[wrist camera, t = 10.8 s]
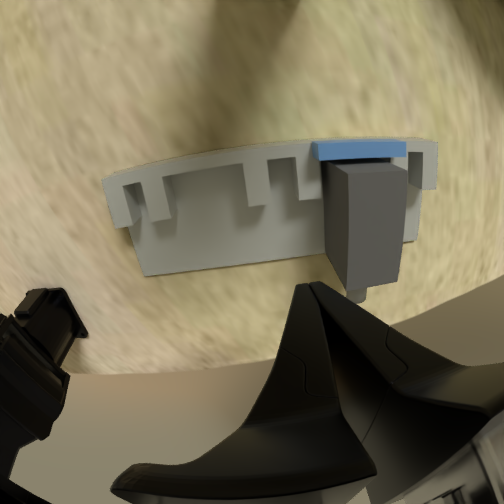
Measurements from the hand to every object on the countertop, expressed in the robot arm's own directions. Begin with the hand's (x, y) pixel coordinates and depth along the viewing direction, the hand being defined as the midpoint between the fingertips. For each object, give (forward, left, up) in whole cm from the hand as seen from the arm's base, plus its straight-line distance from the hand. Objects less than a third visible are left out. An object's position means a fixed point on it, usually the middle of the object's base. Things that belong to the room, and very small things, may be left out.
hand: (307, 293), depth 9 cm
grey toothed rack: (-1, -1, -12) cm, 12 cm away
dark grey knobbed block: (-3, -6, -12) cm, 13 cm away
